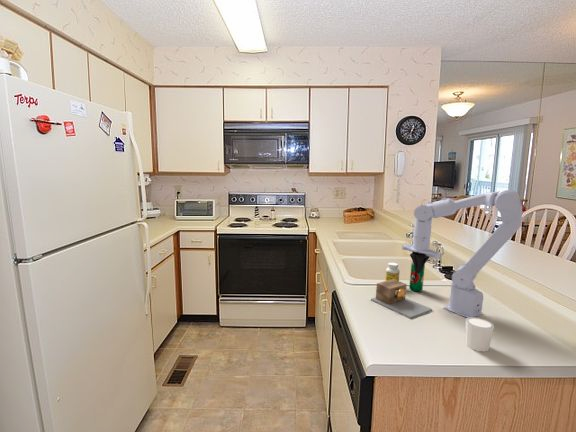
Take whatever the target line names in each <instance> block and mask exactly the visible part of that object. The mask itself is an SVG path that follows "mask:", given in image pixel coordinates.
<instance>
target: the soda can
mask: <svg viewBox="0 0 576 432" xmlns="http://www.w3.org/2000/svg"><path fill="white" fill-rule="evenodd" d="M425 267H426V264H425V265H424V267H423V269H422V272H421V273H415V269H414V264H413V261H412V262H411V264H410V276H409V277H410V278H409V290H410V291H412V292H415V293H421V292H422V291H423V289H424V279H425V278H424V277H425Z"/></svg>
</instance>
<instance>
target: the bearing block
mask: <svg viewBox="0 0 576 432" xmlns="http://www.w3.org/2000/svg"><path fill="white" fill-rule="evenodd" d="M407 284H408V283H406V282H405V283H404V282H402V281H400V280H399V281H397V280H394V279H392V280H388V281H381V282H378V283H376V288H375V289H376V291H375V297H376V299H377V300H379V301H381V302H384V303H386V304H388V305H390V304H393V303H396V302H399V301H403V300H405V298H407V295H406V296H405V298H404V299H403V300H399V299H397V296H395V290H396V289H398V290H399V289H404V290H405V291H406V292H407Z"/></svg>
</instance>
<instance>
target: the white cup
mask: <svg viewBox="0 0 576 432" xmlns="http://www.w3.org/2000/svg"><path fill="white" fill-rule="evenodd" d="M494 329H495V326H494V324H493V323H492V322H490V321H489V320H487V319H484V318H482V317H481V318H480V317H470V318H467V317H465V336H464V337H465V340H464V341H465V346H466V345H467V346H468V347H467V346H466V347H467V348H469V349H470V348H471V350H473V351H475V350H477V351H476V352H479V351H483V353H484V351H486V352H488V351H489V350H490V349H489V348H490V345H491V341H492V338H493V332H494Z"/></svg>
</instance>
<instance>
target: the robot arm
mask: <svg viewBox="0 0 576 432" xmlns="http://www.w3.org/2000/svg"><path fill="white" fill-rule="evenodd" d="M483 205H484V206H487V207H490V208H493V207H494V206H495V208H496V209H497V211H498V212H499V214H500V218H501V221H502V223H500V225H499V226H498V227H497V228H496V229H495V230H494V232H493V233H492V234H491V235H490V236H489V237H488V239H486V240H485V242H483V244H481V246H480V247H479V248H478V249H477V251H476V252H475V253H474V254H473V255H472V256H471V257H470V258H469V259H468V260H467V261H466V262H465V263H463V264H461V265H459V266H458V267H457V268H456V270H455V271H454V272H453V273H452V275H451V281H452V282H451V285H450V294H449V297H450V298H449V304H448V305H444V306H443V309H444V310H447V311H450V312H452V313H454V314H457V315H459V316H462V317H464V318H470V317H475V318H477V317H478V316H480V315H482V314H483V310H482V309H483V301H484V294H483V292H482V291H480V290H478V289H476V285H475V283H474V280H475V279H476V277H477V275H478V274H479V272H480V271H481V270H483V268H484V267H485V266H486V265H487V264H488V263H489V261H491V259H492V258H494V256H495V255H496V254H497V253H498V252H499V251H500V250H501V249H502V247H504V245H506V243H507V242H508V241H509V240H510V239H511V238H512V237H513V236H514V235H515V234H516V233H517V232H518V230H519V229H520V228H521V226H522V222H523V221H522V220H523V202H522V198H521V196H520V195H519V193H518V192H516V191H515V190H511V189H507V190H503V191H500V190H498V191H490V192H483V193H481V194H477V195H473V196H469V197H466V198H462V199H457V200H454V199H452V198H450V197H449V198H448V197H442V198H441V199H440V200H437V201H428V202H427V203H426V204H425V203H424V204H420V205H417V206H416V207H415V209H414V211H413V216H414V217H415V219H414V228H413V236H412V237H413V238H412V244H406V243H404V244H402V246H401V249H402V250H404V251H409V252H410V254H409V256H410V257H411V258H410V259H411V261H412V262H413V264H414V269H415V273H421V272H422V269H423V267H424V265H425V266H426V264H427V262H428V260H429V259H430V258H433V259H436V260H438V259H441V252H439V251H435V250H433V249H430V243H431V236H432V235H431V233H432V220H433V219H439V218H443V217H447V216H452V215H455V213H456V212H457V211H458V210H461V209H467V208H471V207H472V208H473V207H478V206H483Z"/></svg>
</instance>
